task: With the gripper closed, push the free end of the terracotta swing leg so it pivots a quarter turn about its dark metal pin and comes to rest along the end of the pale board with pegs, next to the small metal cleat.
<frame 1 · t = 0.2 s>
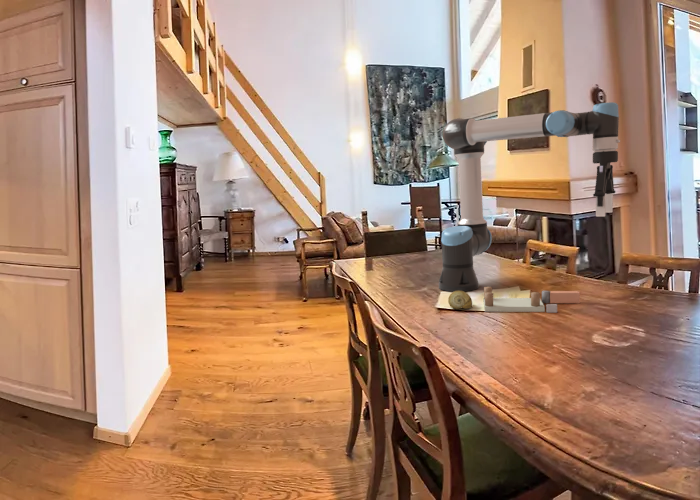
hand: (604, 214, 165), 27 cm above the table, fingers open, 13 cm apart
pale board with pegs: (512, 306, 158), on the table
swing leg: (560, 296, 159), point 2 cm above the table, hinge at 0.0°
seashell: (460, 308, 162), on the table
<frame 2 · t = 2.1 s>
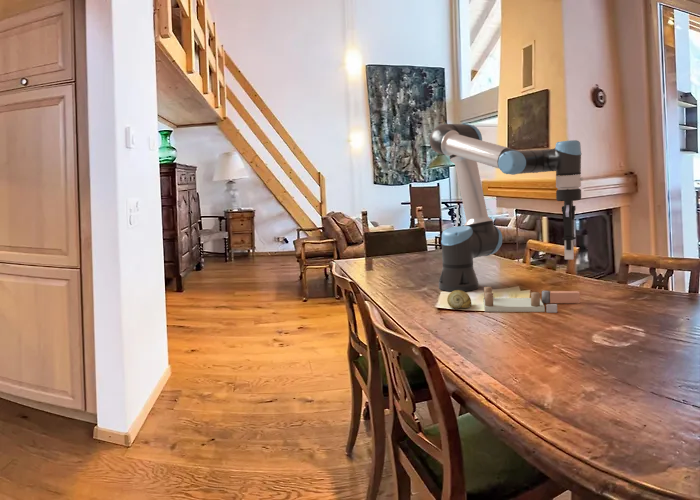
hand: (569, 259, 163), 13 cm above the table, fingers closed
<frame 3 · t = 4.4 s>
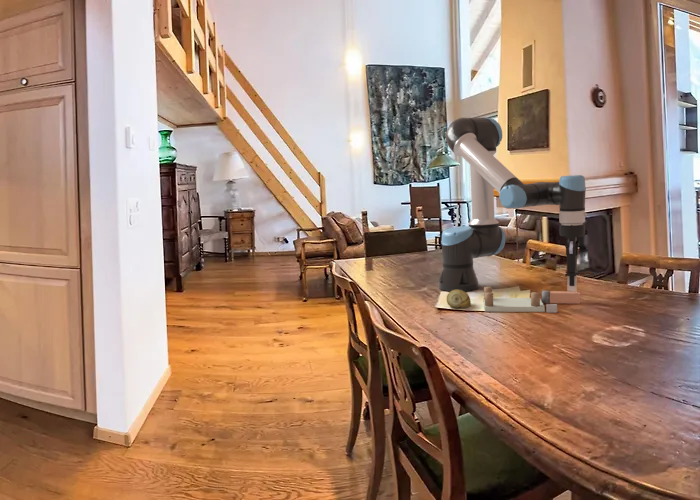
hand: (572, 294, 160), 2 cm above the table, fingers closed
swing leg: (560, 297, 159), point 2 cm above the table, hinge at 4.6°, touching gripper
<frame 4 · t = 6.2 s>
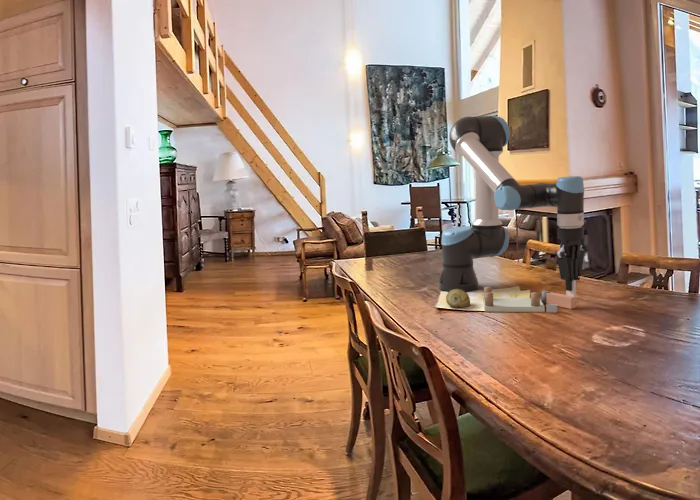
hand: (571, 299, 154), 2 cm above the table, fingers closed
swing leg: (557, 299, 157), point 2 cm above the table, hinge at 46.4°, touching gripper
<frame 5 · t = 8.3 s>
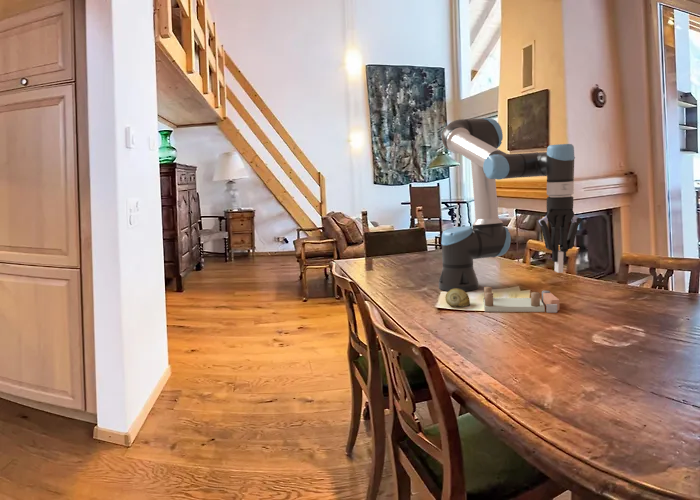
hand: (558, 271, 151), 12 cm above the table, fingers closed
swing leg: (549, 300, 156), point 2 cm above the table, hinge at 82.8°
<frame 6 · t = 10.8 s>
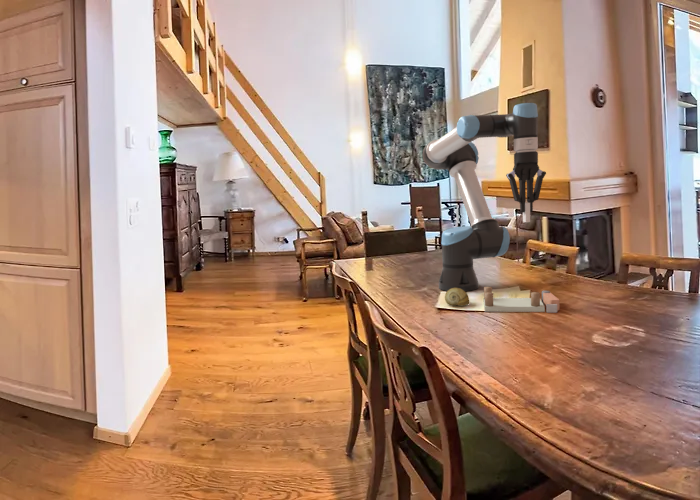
hand: (526, 221, 165), 26 cm above the table, fingers closed
at the end: swing leg at +83° (first picture: +0°) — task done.
